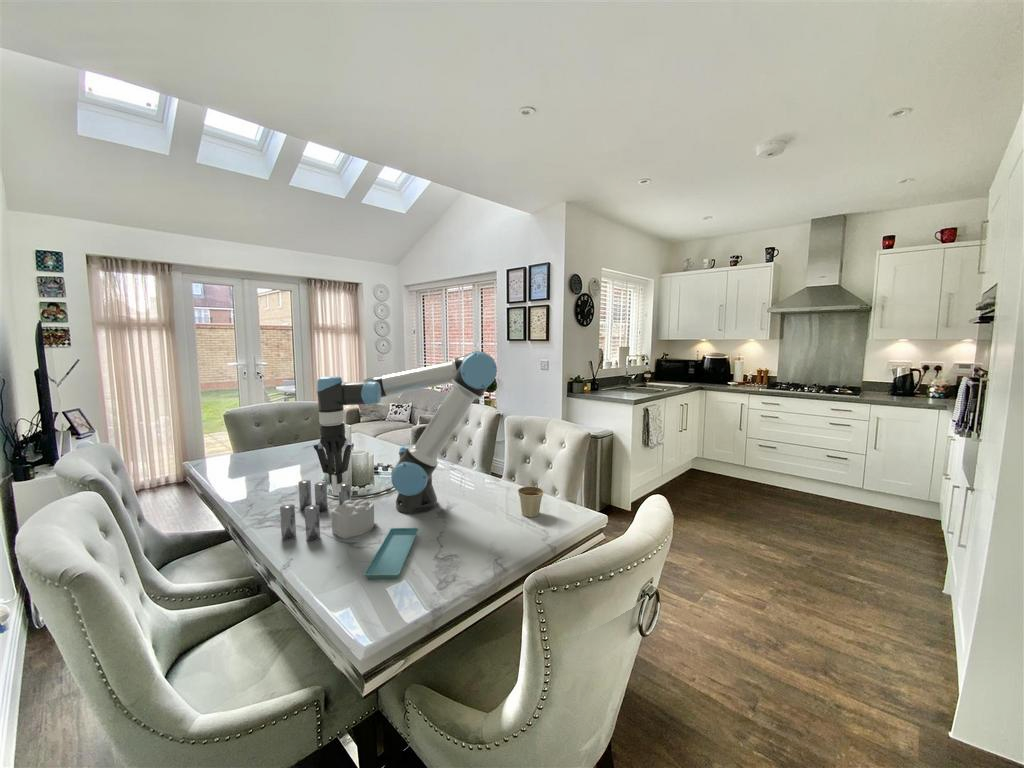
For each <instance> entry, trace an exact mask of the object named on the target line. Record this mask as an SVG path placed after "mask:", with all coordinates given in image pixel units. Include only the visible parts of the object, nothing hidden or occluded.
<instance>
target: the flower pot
mask: <svg viewBox="0 0 1024 768" xmlns="http://www.w3.org/2000/svg"><path fill="white" fill-rule="evenodd" d="M517 493H518V496H519V500H520V502H519V503H520V509H521V515H522V516H523V517H528V518H535V517H538V516H539V514H540V511H541V504H542V503H541V502H542V499H543V496H544V493H545V490H544V489H543V488H541V487H537V486H533V485H531V486H530V485H529V486H522V487H520V488H518V489H517Z"/></svg>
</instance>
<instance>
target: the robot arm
mask: <svg viewBox="0 0 1024 768" xmlns="http://www.w3.org/2000/svg"><path fill="white" fill-rule="evenodd" d="M496 363H497V362H496V360H495V359H494V358H493V357H492V356H491V355H490V354H489V353H486V352H484V351H480V350H479V351H477V350H475V351H472V352H470V353H467V354H465V355H462V356H459V357H453V358H452V360H451V361H447V362H443V363H438V364H433V365H429V366H424V367H419V368H414V369H410V370H405V371H400V372H399V371H398V372H395V373H390V374H386V375H385V374H384V375H381V376H375V377H368V378H366V379H364V380H361V381H352V382H348V381H346V382H345V381H343V379H342V377H341V376H339V375H338V376H335V375H334V376H331V375H330V376H321V377H319V378H318V379H317V381H316V385H317V388H316V390H317V391H316V393H317V402H318V421H319V424H320V426H319V432H320V440H319V442H318V443H315V444H314V445H313V449H314V450H315V451H316V454H317V457H318V460H319V464H320V467H321V471H322V473H324V474H328V477H329V480H328V481H329V484H330V485H331V489H332V490H331V491H332V495H339V493H340V492H341V483H343V482H344V481H343V480H344V479H343V474H344V473H346V472H347V471H348V470H349V465H350V459H351V454H352V449H353V447H354V446H355V444H354V443H350V442H348V441H347V438H346V426H345V425H346V424H345V423H344V422H345V412H344V406H355V405H359V406H361V405H363V406H365V405H368V406H371V405H376V404H380V402H381V400H382V398H384V397H388V396H393V395H394V396H395V395H398V394H403V393H408V392H409V393H410V392H413V391H418V390H422V389H423V390H424V389H428V388H433V387H438V386H442V385H449V384H452V386H451V388H450V390H449V391H448V392H447V394H446V395H445V397H444V399H443V401H442V402H441V403H440V405H439V407H437V409H436V411H435V413H434V414H433V416H432V417H431V419H430V421H429V422H428V424H427V425H426V427H425V429H424V430H423V432H421V433H422V434H421V435H420V437H419V438H418V439H417V441H416V443H415V444H407V445H401V446H400V447H399V450H398V455H399V459H398V462H397V464H396V466H395V467H394V468H393V470H392V471H391V484H392V486H393V488H394V489H395V491H397V492H398V494H397V497H396V499H395V508H396V510H397V511H399V512H401V513H404V514H418V513H424V512H429V511H431V510H433V509H435V508H436V507H437V505H438V497H437V494H436V491H435V488H434V486H433V473H434V471H435V469H436V468H437V467H438V464H439V463H438V457H439V456H440V454H441V452H442V450H443V449H444V448H445V446H446V445H447V444H448V441H449V440H450V438H451V436H452V435H453V433H454V432H455V430H456V429H457V427H458V426H459V424H460V422H461V421H462V419H463V418H464V416H465V414H466V413H467V412H468V410H469V409H470V407H471V405H473V403H474V401H475V400H476V399H481V398H482V396H483V395H484V393H485V392H486V390H487V389H488V387H490V386H491V384H493V382H494V381H495V379H496V377H497V373H498V368H497V367H498V366H497V364H496ZM343 448H344V451H343ZM342 454H343V456H342Z"/></svg>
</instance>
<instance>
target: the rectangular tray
mask: <svg viewBox="0 0 1024 768" xmlns="http://www.w3.org/2000/svg"><path fill="white" fill-rule="evenodd" d="M419 530H420V528H419V527H392V528H389V531H388V532H387V534H386V536H385V537H384V540H383V541H382V543H381V544H380V546H379V547H378V550H377V551H376V553H375V555H374V556H373V558H372V560H371V561H370V563H369V564H368V566H367V568H366V569H365V572H364V573H363V576H364V577H365V578H366V579H367V580H396V579H398V578H399V576H400V574H401V572H402V570H403V566H404V565H405V562H406V560H407V558H408V556H409V553H410V550H411V548H413V547H412V546H413V544H414V541H415V539H416V537H417V535H418V532H419Z"/></svg>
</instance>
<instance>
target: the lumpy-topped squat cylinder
mask: <svg viewBox="0 0 1024 768" xmlns="http://www.w3.org/2000/svg"><path fill="white" fill-rule="evenodd" d="M330 511H331V514H330V515H331V532H333V533H332V534H334V533H335V534H334V535H336V534H337V535H336V536H338V535H339V536H338V537H340V538H341V537H343V538H342V539H348V537H350V538H353V537H352V536H354V537H357V536H358V535H362V534H364V533H366V531H367V532H369V531H370V530H372V528H373V527H374V526H375V503H374V502H373V501H371V500H366V499H362V498H361V499H357V500H354V501H353V500H352V499H351V500H347V501H345V502H344V503H343V505H340V506H339V505H338V506H336V507H334V508H332V510H330ZM368 530H369V531H368ZM361 533H362V534H361ZM356 535H357V536H356Z"/></svg>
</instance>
